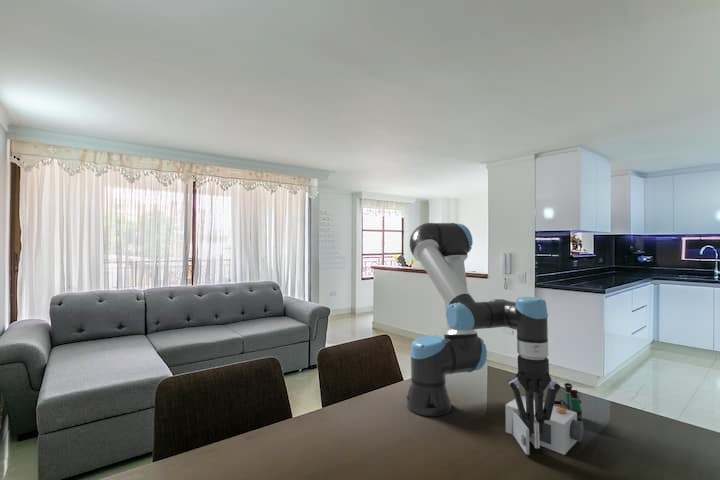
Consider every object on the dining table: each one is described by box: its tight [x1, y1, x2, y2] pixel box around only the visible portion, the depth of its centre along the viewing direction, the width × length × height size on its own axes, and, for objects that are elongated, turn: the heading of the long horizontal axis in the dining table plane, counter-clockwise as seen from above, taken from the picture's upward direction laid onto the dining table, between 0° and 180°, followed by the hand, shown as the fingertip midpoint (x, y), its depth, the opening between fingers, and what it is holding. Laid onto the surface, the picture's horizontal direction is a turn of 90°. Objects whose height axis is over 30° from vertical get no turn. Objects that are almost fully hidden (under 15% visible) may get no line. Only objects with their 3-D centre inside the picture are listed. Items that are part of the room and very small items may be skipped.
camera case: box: [505, 395, 585, 456], centre depth 104 cm, size 18×10×9 cm, turn 42°
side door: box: [511, 411, 530, 456], centre depth 100 cm, size 11×2×6 cm, turn 176°
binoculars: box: [554, 382, 584, 424], centre depth 115 cm, size 9×11×10 cm
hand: (535, 445), depth 96 cm, fingers closed
